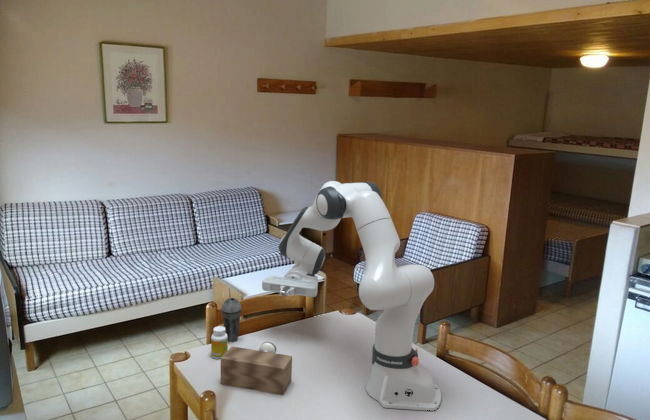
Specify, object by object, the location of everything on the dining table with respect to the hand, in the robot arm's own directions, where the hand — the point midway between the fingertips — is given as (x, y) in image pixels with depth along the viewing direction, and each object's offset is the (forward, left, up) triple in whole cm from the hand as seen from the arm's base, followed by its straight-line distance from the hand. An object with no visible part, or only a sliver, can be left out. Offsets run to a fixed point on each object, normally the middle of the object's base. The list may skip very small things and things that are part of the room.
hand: (283, 294), depth 173 cm
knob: (0, +18, -16) cm, 24 cm away
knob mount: (0, +25, -19) cm, 32 cm away
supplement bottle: (+18, +13, -20) cm, 30 cm away
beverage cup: (+19, +1, -20) cm, 27 cm away
